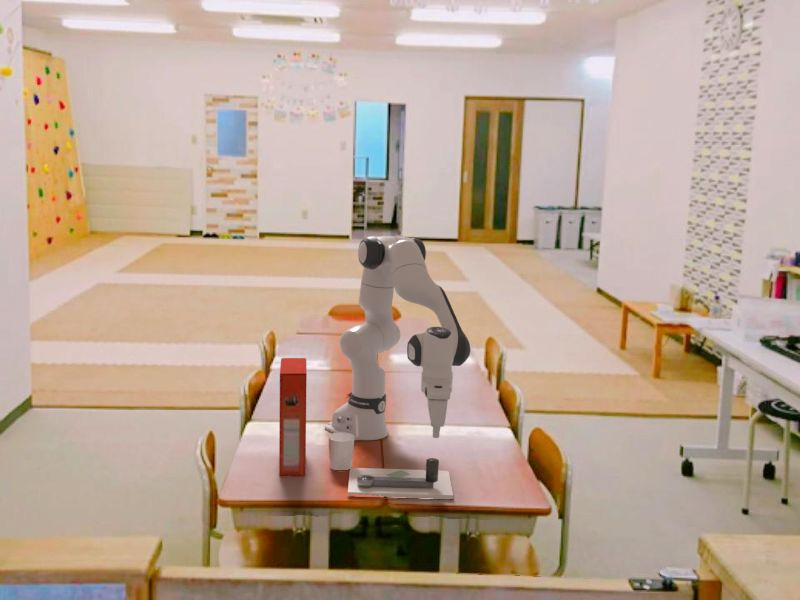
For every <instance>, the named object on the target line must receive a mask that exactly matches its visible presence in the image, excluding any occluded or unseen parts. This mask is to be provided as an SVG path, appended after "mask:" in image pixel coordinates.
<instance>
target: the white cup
mask: <svg viewBox="0 0 800 600" xmlns="http://www.w3.org/2000/svg"><path fill="white" fill-rule="evenodd" d="M354 438H355V437H354V435H352V434H350V433H344V432H338V433H333V432H332V433H331V434H329V436H328V452H329V453H328V454H329V455H328V458H329V467H330V469H331V468H332V469H334V470H333V471H335V470H346V469H350V468H351V467H352V468H353V459H354V450H355V449H354V448H355V440H354ZM332 469H331V470H332Z"/></svg>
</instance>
